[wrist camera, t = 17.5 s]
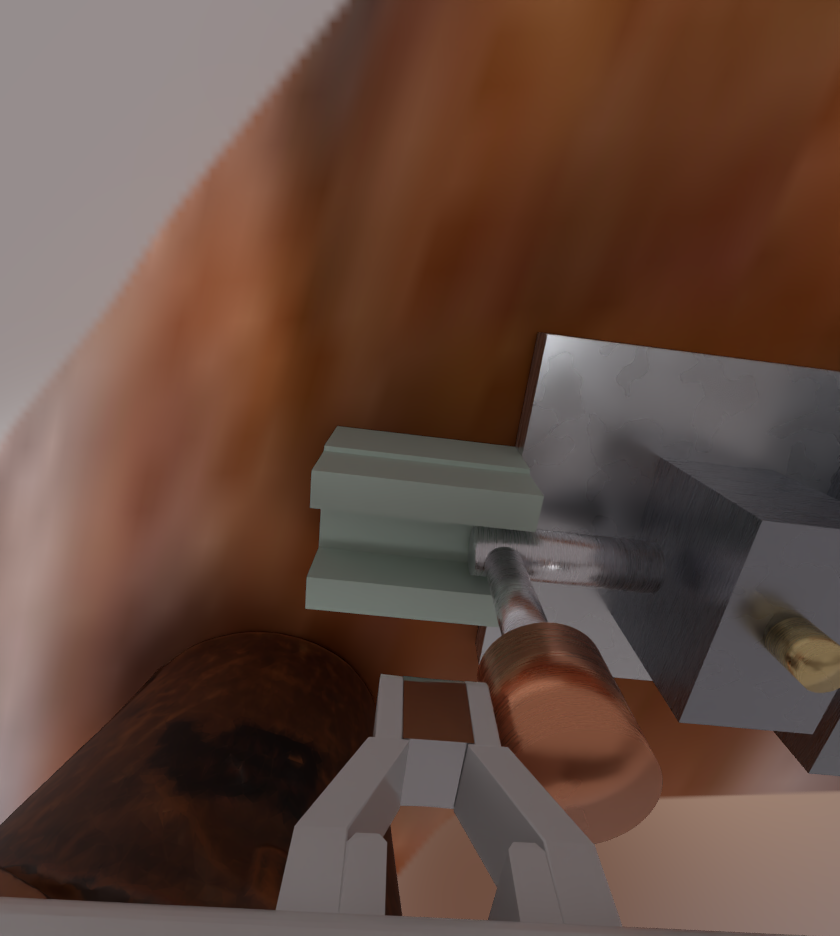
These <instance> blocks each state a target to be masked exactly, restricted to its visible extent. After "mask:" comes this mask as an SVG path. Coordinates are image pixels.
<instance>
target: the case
mask: <svg viewBox="0 0 840 936" xmlns="http://www.w3.org/2000/svg"><path fill="white" fill-rule="evenodd" d="M375 713H376V708H375V704H374V701H373V699H372V696H371V694H370V692H369V691H368V689H367V687H366V685H365V684H364V682H363V681H362V680H361V679H360V677H359V676H358V674H357V673H356V672H355V671H354V670H353V669H352V668H351V666H350V665H349V664H347V663H346V662H345V661H344V660H342V659H341V658H340V657H338V656H337V655H335V654H334V653H332V652H330V651H328V650H326V649H325V648H323V647H321V646H319V645H317V644H315V643H312V642H309V641H306V640H303V639H301V638H297V637H293V636H288V635H283V634H278V633H269V632H244V633H236V634H231V635H227V636H222V637H218V638H214V639H211V640H208V641H204V642H202V643H199V644H197V645H195V646H192V647H191V648H189V649H187V650H186V651H184V652H183V653H181V654H180V655H179V656H177V657H176V658H175V659H174V660H172V661H171V662H170V663H169V664H168V665H166V666H164V667H161V668H160V669H158V670H157V671H156V672H155V674H154V675H153V676H152V677H151V678H150V679H149V680H148V681H147V682H146V684H145V685H144V686H143V687H142V688H141V689H140V690H139V691H138V692H137V693H136V694H135V695H134V696H133V698H132V699H131V700H130V701H129V702H128V703H127V704H126V705H125V706H124V707H123V708H122V709H121V710H120V711H119V712H118V713H117V714H116V715H115V716H114V717H113V718H112V719H111V720H110V721H109V722H108V723H107V724H106V725H105V726H104V727H102V728H101V730H100V731H99V732H97V733H96V734H95V735H94V736H93V737H92V738H91V739H90V740H89V741H88V742H87V743H86V744H85V745H83V746H82V747H81V748H80V749H79V750H78V751H77V752H76V753H75V754H74V755H73V756H72V757H71V758H70V759H69V760H68V761H67V762H66V763H65V764H64V765H63V766H62V767H61V768H60V769H58V770H57V771H56V772H55V773H54V774H53V775H52V776H51V777H50V778H49V779H48V780H47V781H46V782H45V783H44V784H43V785H42V786H40V787H39V788H38V789H37V790H36V791H35V792H34V793H33V794H32V795H31V796H30V797H29V798H28V799H27V800H26V801H25V802H24V803H23V804H22V805H20V806H19V807H18V808H17V809H16V810H15V811H14V812H13V813H12V814H11V815H10V816H9V817H8V818H7V819H6V820H5V821H4V822H3V823H2V824H1V825H0V897H17V898H37V899H57V900H78V901H98V902H119V903H139V904H160V905H181V906H201V907H222V908H243V909H263V910H276V906H277V902H278V897H279V893H280V888H281V884H282V879H283V875H284V871H285V866H286V862H287V857H288V853H289V848H290V844H291V840H292V835H293V831H294V826H295V825H296V824H297V822H298V821H299V820H300V819H301V818H302V816H303V815H304V814H305V813H306V812H307V810H308V809H309V808H310V807H311V806H312V804H313V803H314V802H315V801H316V800H317V798H318V797H319V796H320V795H321V794H322V792H323V791H324V790H325V789H326V788H327V786H328V785H329V784H330V783H331V782H332V780H333V779H334V778H335V777H336V776H337V774H338V773H339V772H340V771H341V770H342V768H343V767H344V766H345V765H346V764H347V762H348V761H349V760H350V759H351V757H352V756H353V755H354V754H355V753H356V751H357V750H358V749H359V748H360V747H361V745H362V744H363V743H364V742H365V741H366V739H367V738H368V737H373V730H374V722H375ZM383 838H384V839H385V840H386V842H387V862H386V894H385V915H387V916H402V911H401V903H400V896H399V889H398V881H397V874H396V866H395V858H394V851H393V843H392V835H391V827H390V826H389V828H388V829H387V831H386V833H385V835H384V836H383Z"/></svg>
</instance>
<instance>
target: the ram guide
mask: <svg viewBox="0 0 840 936" xmlns="http://www.w3.org/2000/svg"><path fill="white" fill-rule="evenodd" d="M529 473H530V468H529V467H528V465H527V464H526V462H525V461H524V459H523V458H522V456H521V455H520V454H519V452H518V451H517V449H516V448H515V447H512V446H504V445H495V444H487V443H478V442H470V441H461V440H452V439H444V438H435V437H427V436H418V435H410V434H401V433H393V432H384V431H375V430H367V429H358V428H350V427H341V426H337V427H336V429H335V430H334V432H333V433H332V435H331V436H330V438H329V439H328V441H327V442H326V444H325V445H324V452H323V453H322V455H321V456H320V458H319V459H318V461H317V463H316V464H315V466H314V467H313V469H312V473H311V494H310V508H316V509H321V516H320V534H319V548H318V550H317V553H316V555H315V558H314V560H313V563H312V565H311V567H310V570H309V572H308V575H307V581H306V603H305V609H315V610H325V611H335V612H345V613H356V614H366V615H376V616H386V617H396V618H407V619H417V620H427V621H437V622H448V623H458V624H468V625H478V626H488V627H499V624H498V620H497V616H496V612H495V608H494V604H493V600H492V596H491V592H490V589H489V585H488V581H487V577H484V576H474V575H470V573H469V568H468V550H469V541H470V535H471V530H472V527H473V526H482V527H491V528H501V529H510V530H519V531H528V532H536V529H537V525H538V520H539V516H540V512H541V508H542V503H543V499H544V495H543V494H542V492H541V491H540V489H539V488H538V486H537V485H536V483H535V482H534V480H533V479H532V477H531V476H530V474H529Z"/></svg>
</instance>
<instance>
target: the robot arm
mask: <svg viewBox="0 0 840 936" xmlns="http://www.w3.org/2000/svg"><path fill="white" fill-rule="evenodd" d="M400 805H402V806H429V807H439V808H450V809H454V813H455V814H456V816H457V818H458V820H459V821H460V823H461V825H462V827H463V828H464V830H465V832H466V833H467V835H468V837H469V839H470V841H471V843H472V844H473V846H474V848H475V849H476V851H477V853H478V855H479V857H480V858H481V860H482V862H483V864H484V865H485V867H486V869H487V870H488V872H489V874H490V876H491V878H492V879H493V881H494V883H495V885H496V886H497V891H496V894H495V898H494V901H493V904H492V908H491V911H490V915H489V918H488V920H470V919H450V918H429V917H408V916H387V915H385V894H386V862H387V842H386V840H385V839H384V838H383V836H384V835H385V833H386V831H387V829H388V828H389V826H390V824H391V822H392V821H393V819H394V817H395V815H396V813H397V812H398V810H399V808H400ZM0 936H805V935H784V934H764V933H763V934H762V933H742V932H721V931H701V930H681V929H659V928H638V927H622V924H621V921H620V918H619V915H618V912H617V909H616V906H615V903H614V901H613V898H612V895H611V892H610V889H609V886H608V883H607V880H606V877H605V874H604V871H603V868H602V866H601V863H600V860H599V857H598V854H597V851H596V848H595V845H594V844H593V843H592V842H591V840H590V839H589V838H588V837H587V836H586V835H585V834H584V833H583V831H582V830H581V829H580V828H579V827H578V826H577V825H576V823H575V822H574V821H573V820H572V819H571V818H570V817H569V816H568V814H567V813H566V812H565V811H564V810H563V809H562V808H561V807H560V805H559V804H558V803H557V802H556V801H555V800H554V799H553V797H552V796H551V795H550V794H549V793H548V792H547V791H546V790H545V788H544V787H543V786H542V785H541V784H540V783H539V782H538V780H537V779H536V778H535V777H534V776H533V775H532V774H531V773H530V771H529V770H528V769H527V768H526V767H525V766H524V765H523V763H522V762H521V761H520V760H519V759H518V758H517V757H516V756H515V754H514V753H513V752H512V751H511V750H510V749H509V748H508V747H502V746H501V743H500V738H499V733H498V729H497V724H496V719H495V715H494V710H493V705H492V701H491V696H490V691H489V687H488V685H487V684H486V683H484V682H469V681H465V682H463V681H453V680H439V679H427V678H418V677H409V676H403V678H402V676H394V675H385V674H381V676H380V681H379V689H378V697H377V705H376V713H375V722H374V730H373V737H368V738H367V739H366V741H365V742H364V743H363V744H362V745H361V747H360V748H359V749H358V750H357V751H356V753H355V754H354V755H353V756H352V757H351V759H350V760H349V761H348V762H347V764H346V765H345V766H344V767H343V768H342V770H341V771H340V772H339V773H338V774H337V776H336V777H335V778H334V779H333V780H332V782H331V783H330V784H329V785H328V786H327V788H326V789H325V790H324V791H323V792H322V794H321V795H320V796H319V797H318V798H317V800H316V801H315V802H314V803H313V804H312V806H311V807H310V808H309V809H308V810H307V812H306V813H305V814H304V815H303V816H302V818H301V819H300V820H299V821H298V822H297V824H296V825H295V826H294V831H293V835H292V840H291V844H290V848H289V853H288V857H287V862H286V866H285V871H284V875H283V879H282V884H281V888H280V893H279V897H278V902H277V906H276V910H263V909H243V908H222V907H201V906H181V905H160V904H139V903H119V902H98V901H78V900H57V899H37V898H17V897H0Z"/></svg>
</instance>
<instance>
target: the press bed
mask: <svg viewBox="0 0 840 936" xmlns="http://www.w3.org/2000/svg"><path fill="white" fill-rule="evenodd" d="M515 448H516V449H517V451H518V452H519V454H520V455H521V456H522V458H523V459H524V461H525V462H526V464H527V465H528V467H529V468H530V473H529V474H530V476H531V477H532V479H533V480H534V482H535V483H536V485H537V486H538V488H539V489H540V491H541V492H542V494H543V495H544V499H543V503H542V508H541V512H540V516H539V520H538V525H537V529H542V530H551V531H560V532H569V533H579V534H588V535H597V536H606V537H616V538H625V539H634V540H635V538H636V535H637V531H638V528H639V525H640V522H641V519H642V516H643V512H644V509H645V506H646V503H647V500H648V496H649V493H650V490H651V487H652V484H653V481H654V477H655V474H656V471H657V468H658V465H659V462H660V458H661V457H663V458H672V459H680V460H689V461H697V462H706V463H714V464H723V465H731V466H740V467H748V468H757V469H765V470H774V471H776V472H779V473H781V474H783V475H785V476H787V477H789V478H792V479H794V480H796V481H798V482H800V483H802V484H805V485H807V486H809V487H811V488H813V489H815V490H817V491H820V492H822V493H824V494H826V495H828V496H830V497H833V498H835V499H837V500H839V501H840V371H835V370H827V369H819V368H811V367H804V366H796V365H788V364H780V363H773V362H765V361H757V360H749V359H742V358H734V357H726V356H719V355H711V354H703V353H695V352H688V351H680V350H672V349H664V348H657V347H649V346H641V345H633V344H626V343H618V342H610V341H602V340H595V339H587V338H579V337H571V336H564V335H556V334H548V333H540V332H538V334H537V339H536V344H535V349H534V354H533V359H532V364H531V369H530V374H529V379H528V384H527V389H526V394H525V399H524V404H523V409H522V414H521V419H520V423H519V428H518V433H517V438H516V443H515ZM531 582H532V581H531ZM532 584H533V587H534V589H535V592H536V594H537V596H538V599H539V601H540V604H541V606H542V609H543V611H544V613H545V616H546V618H547V621H548V623H558V624H563V625H567V626H570V627H573V628H575V629H577V630H579V631H581V632H582V633H584V634H585V635H587V636H588V637H589V638H590V639H591V640H592V641H593V642H594V643H595V645H596V646H597V648H598V650H599V652H600V653H601V655H602V657H603V659H604V661H605V663H606V665H607V667H608V669H609V670H610V672H611V674H612V676H613V677H617V678H627V679H638V680H649V681H653V680H652V679H651V677H650V676H649V674H648V672H647V671H646V669H645V668H644V666H643V664H642V663H641V661H640V660H639V658H638V656H637V655H636V653H635V652H634V650H633V648H632V647H631V645H630V644H629V642H628V640H627V639H626V637H625V636H624V634H623V633H622V631H621V629H620V628H619V626H618V625H617V623H616V621H615V620H614V618H613V617H612V615H611V614H612V611H613V608H614V604H615V601H616V598H617V595H618V592H619V590H610V589H600V588H591V587H581V586H571V585H562V584H552V583H542V582H532ZM501 636H502V635H501V631H500V628H499V627H488V626H479V628H478V633H477V638H476V643H475V645H476V651H477V657H478V662H479V664H480V661H481V659H482V657H483V655H484V653H485V652H486V650H487V649H488V648H489V647H490V645H491V644H492V643H493V642H495V641H496V640H497V639H498V638H499V637H501ZM774 733H775V734H776V735H777V736H778V737H779V739H780V740H781V741H782V742H783V743H784V745H785V746H786V747H787V748H788V749H789V751H790V752H791V753H792V754H793V755H794V756H795V758H796V759H797V760H798V761H799V762H800V764H801V765H802V766H803V767H804V768H805V770H806V771H807V772H808V773H810V774H822V775H834V776H840V688H839V689H837V691H836V693H835V695H834V697H833V698H832V700H831V702H830V704H829V706H828V707H827V709H826V711H825V713H824V715H823V717H822V718H821V720H820V722H819V724H818V726H817V727H816V729H815V731H814V733H813V734H804V733H793V732H782V731H774Z"/></svg>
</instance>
